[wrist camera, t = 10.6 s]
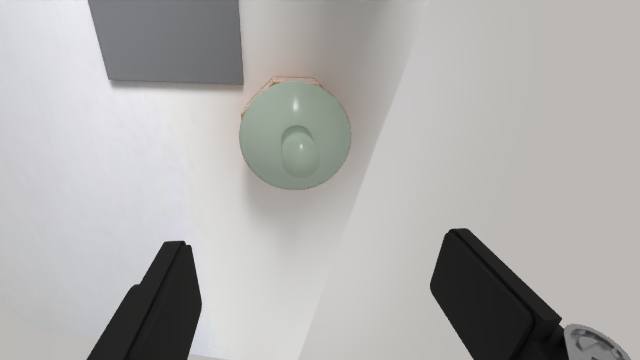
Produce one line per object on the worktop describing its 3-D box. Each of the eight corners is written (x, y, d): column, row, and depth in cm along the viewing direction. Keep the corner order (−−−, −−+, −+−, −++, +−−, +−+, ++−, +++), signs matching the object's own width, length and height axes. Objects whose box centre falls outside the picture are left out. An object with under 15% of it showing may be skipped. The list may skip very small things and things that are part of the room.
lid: (235, 78, 23) (223, 87, 17) (353, 82, 24) (375, 91, 19) (245, 186, 27) (237, 221, 22) (344, 184, 28) (360, 215, 23)
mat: (69, -90, 21) (63, -94, 20) (233, -71, 22) (232, -74, 22) (112, 78, 26) (108, 79, 25) (243, 83, 28) (242, 84, 27)
